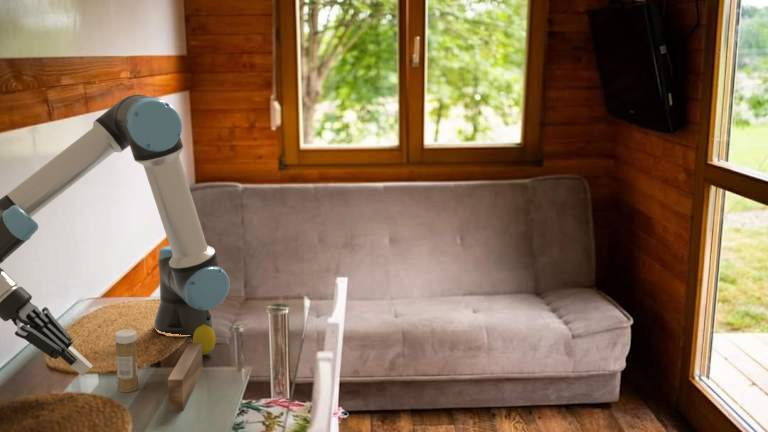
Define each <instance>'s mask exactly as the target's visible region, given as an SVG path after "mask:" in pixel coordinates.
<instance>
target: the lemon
mask: <svg viewBox="0 0 768 432" xmlns="http://www.w3.org/2000/svg"><path fill="white" fill-rule="evenodd" d="M216 340H217V339H216V333H215V331H214V329H213V327H212V328H211V327H209V326H207V325H205V324H203V325H202V326H200V327H198V328H197V329H196V330H195V332H194V334H193V336H192V343H201V344H202V356H206V355H207V354H208V353H210V352H212V351H213V350H214V348H215V346H216V342H217V341H216Z"/></svg>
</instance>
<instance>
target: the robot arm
mask: <svg viewBox="0 0 768 432" xmlns="http://www.w3.org/2000/svg"><path fill="white" fill-rule="evenodd" d="M182 130H183V123H182V118H181V116H180V114H179V112H178V111H177V110H176V108H175V107H174V106H173V105H172V104H171V103H169V102H167V101H166V100H164V99H162V98H158V97H156V96H155V97H154V96H153V97H152V96H147V95H144V94H131V95H127V96H126V97H124V98H122V99H120V100H119V101H117V102H116V103H115V104H114V105H112V106H111V107H109V108H108V109H107V110H106V111H105V112H104V113H103V114H101V115H100V116H99V117H97V118H96V119H95V120H94V121H93V123H92V128H91V129H88V131H87V132H86V133H84V134H83V135H82V136H80V137H79V138H78V139H76V140H75V141H74V142H73V143H71V144H70V145H68V146H67V147H66V148H65V149H63V150H62V151H61V152H60V153H58V154H57V155H56V156H54V157H53V158H51V159H50V160H49V161H48V162H47V163H45V164H44V165H43V166H41V167H40V168H39V169H37V170H36V171H35V172H34V173H32V174H31V175H30V176H29V177H27V178H25V180H23V181H22V182H21V183H20V184H18V185H17V186H15V188H13V189H11V190H10V191H9V192H7V193H6V194H5V195H4V196H3V197H0V265H1V264H2V263H3V262H4V261H6V259H7V258H9V257H10V256H11V255H12V254H13V253H14V252H15V251H17V250H18V249H19V248H20V247H21V246H22V245H24V244H25V242H27V241H29V240H30V239H31V238H32V236H34V234H35V233H36V232H38V231H37V230H38V229H39V224H38V223H37V221H35V220H34V218H32V217H34V216H35V215H37V213H39V212H40V211H42V210H43V209H44V208H45V207H47V205H49V204H50V203H52V202H53V201H54V200H55V199H56V198H57V197H59V196H61V195H62V194H63V193H65V191H67V190H68V189H69V188H71V187H72V186H73V185H74V184H76V183H77V182H78V181H80V180H81V179H82V178H83V177H85V176H86V175H87V174H88V173H90V172H92V170H94V169H95V168H96V167H98V165H100V164H101V163H103V161H105V160H107V158H108V157H111V155H113V154H114V153H122V152H123V151H124V150H126V149H128V148H129V147H130V149H131V153H132V156H133V159H134V162H136V163H138V164H140V165H142V166H143V168H144V172H145V174H146V175H145V176H146V177H147V181H148V183H149V187H150V189H151V193H152V196H153V199H154V202H155V205H156V207H157V211H158V215H159V216H160V220H161V223H162V226H163V230H164V234H165V235H166V238H167V241H168V244H169V245H167V246H163V247H161V248H160V249H159V251H158V258H157V261H158V270H159V271H158V272H159V295H160V296H159V297H160V301H159V306H158V307H157V308H158V309H157V313H156V315H155V318H154V329H155V328H156V329H157V330H159V331H161V332H165V333H171V334H179V335H180V334H181V335H193V334H194V332H195V330H196V329H197V328H198V327H200V326H202V325H203V324H205V325H207V326H209V327H211V328H212V329H213V317H212V314H211V311H210V310H213V309H214V308H216V307H219V306H220V305H221V304H222V303H223V302H224V301H225V299H226V297H227V296H228V294H229V292H230V288H231V282H230V278H229V275H228V274H227V272H226V271H225V270H224V268H221V265H220V261H219V258H218V255H217V252H216V249H215V248H214V247H213V246H211V245H208V244H207V241H206V237H205V235H204V230H203V229H202V226H201V225H202V223H201V221H200V218H199V215H198V212H197V208H196V204H195V202H194V199H193V195H192V193H191V189H190V186H189V183H188V180H187V177H186V172H185V170H184V167H183V163H182V160H181V157H180V155H181V153H182V151H183V149H184V144H183V141H182V138H181V135H182ZM18 285H19V284H18V282H17V280H15V279H14V278H13V277H12V276H10V275H9V274H8V273H7V272H6V271H5V270H4V269H3V268H1V267H0V319H1V320H2V321H3V322H8V321H11V322H12V323H13V324H14V326H15V327H17V330H15V332H14V335H15V336H16V337H18V338H21V339H22V340H25V341H26V342H28V343H30V344H31V345H32V346H34V347H35V348H37V349H38V350H39V351H41V352H42V353H43V354H44V355H47V356H48V357H50V358H51V359H54V360H57V359H59V357H60V358H61V359H62V360H63V361H65V363H67V364H68V365H69V366H70V367H71V368H72V369H74V370H75V371H76V373H78V374H79V375H80V376H82V377H84V376H85V374H86V373H87V372H88V371H89V370H90V369H91V368H92V367H94V366H93V364H92V363H91V362H89V361H88V359H86V358H85V357H84V356H83V355H82V354H81V353H80V352H78V350H76V349H75V348H74V347H73V346H72V345H73V343H74V340H73V337H72V336H70V334H68V333H69V332H67V331H66V330H65V328H64V327H63V326H61V324H60V323H59V321H58V320H57V319H56V318H55V317H54V316H53V315H52V313H51V311H50V309H49V308H48V307H47V306H44V307H43V308H39V307H38V306H37V305H35V304H33V303H32V302H31V300H32V298H33V296H32V295H31V293H29V292H28V291H27V290H26V289H25V288H24V287H22V286H18Z"/></svg>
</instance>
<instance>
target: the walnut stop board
mask: <svg viewBox="0 0 768 432" xmlns="http://www.w3.org/2000/svg"><path fill="white" fill-rule="evenodd" d="M202 374H203V354H202V344H201V343H193V342H191V343H190V342H189V343H188V344H187V345H186V348H185V350H184V351H183V352H182V355H181V356H180V358H179V360H178V361H177V363H176V364H175V366H174V368H173V370H172V371H171V373H170V374H169V376H168V378H167V393H168V394H167V395H168V399H167V401H168V410H169V411H184V409H185V408H186V406H187V404H188V402H189V400H190V397H191V395H192V393H193V391H194V389H195V387H197V386H196V385H197V384H198V381H199V380H200V378H201V375H202Z"/></svg>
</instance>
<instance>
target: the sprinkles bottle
mask: <svg viewBox="0 0 768 432" xmlns="http://www.w3.org/2000/svg"><path fill="white" fill-rule="evenodd" d="M137 336H138V335H137V331H136V330H135V329H131V328H125V329H119V330H117V331H116V332H115V333H114V342H115V348H116V349H115V351H116V352H115V353H116V354H115V357H116V374H117V390H118V391H119V392H120V393H133V392H135V391H137V390H138V389H139V387H140V385H139V370H138V364H139V363H138V355H137V354H138V353H137V339H138V337H137Z"/></svg>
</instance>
